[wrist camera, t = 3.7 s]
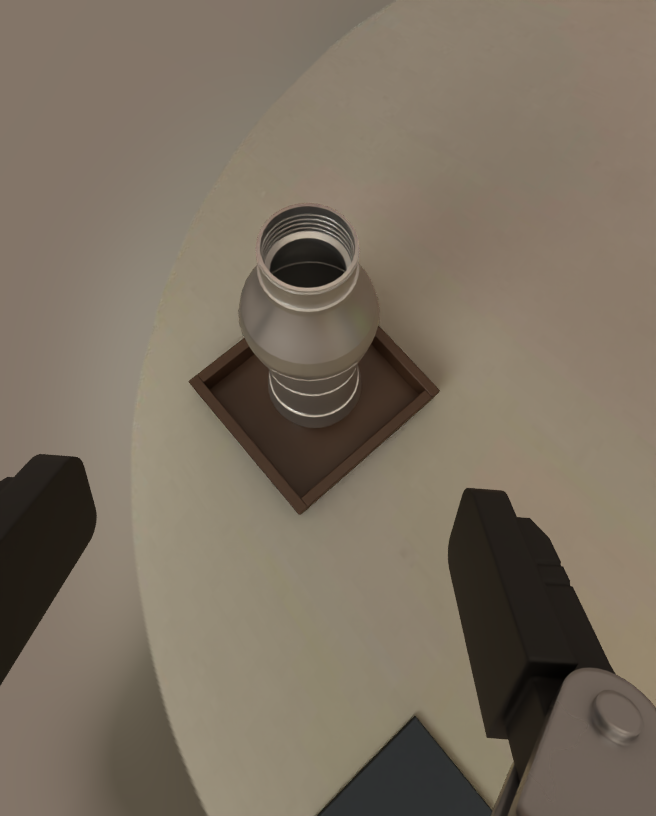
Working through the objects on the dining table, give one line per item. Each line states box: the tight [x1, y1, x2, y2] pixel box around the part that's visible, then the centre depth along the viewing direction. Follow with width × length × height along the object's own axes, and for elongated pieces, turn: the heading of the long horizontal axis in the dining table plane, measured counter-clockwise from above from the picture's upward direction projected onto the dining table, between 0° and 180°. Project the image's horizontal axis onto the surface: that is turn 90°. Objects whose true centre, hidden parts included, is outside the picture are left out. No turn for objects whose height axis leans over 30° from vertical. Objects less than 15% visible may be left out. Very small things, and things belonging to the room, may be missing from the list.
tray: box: [189, 326, 440, 515], centre depth 35 cm, size 14×13×2 cm
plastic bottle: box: [238, 203, 380, 428], centre depth 26 cm, size 6×7×20 cm
